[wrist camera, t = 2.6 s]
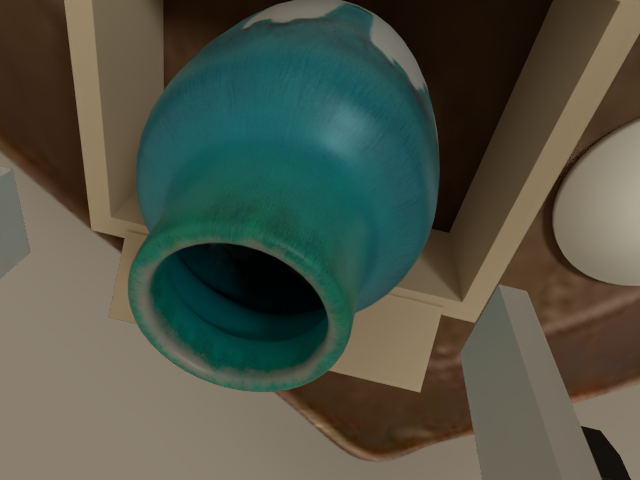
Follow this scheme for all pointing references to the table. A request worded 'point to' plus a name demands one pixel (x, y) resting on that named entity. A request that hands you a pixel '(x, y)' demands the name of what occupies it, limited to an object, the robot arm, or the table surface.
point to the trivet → (603, 209)
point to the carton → (441, 247)
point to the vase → (282, 193)
